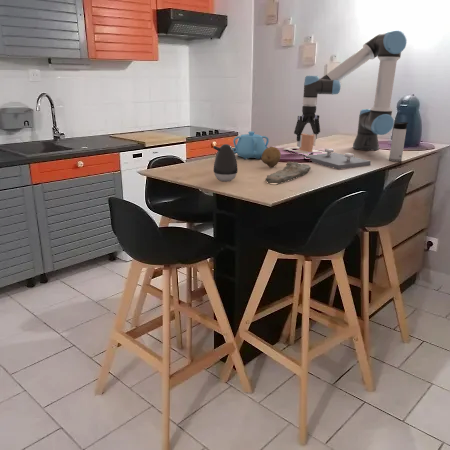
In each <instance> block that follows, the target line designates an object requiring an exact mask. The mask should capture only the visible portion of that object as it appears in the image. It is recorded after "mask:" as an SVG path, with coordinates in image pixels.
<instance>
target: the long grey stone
mask: <svg viewBox="0 0 450 450" xmlns="http://www.w3.org/2000/svg"><path fill="white" fill-rule="evenodd" d="M310 170H311V165H309V164H306V163H299V162H297V161H293V162H292V161H287V162H286V165H285V166H284V167H283V169H280V170H278V171H275V172H273V173H270V174H268V175H266V178H265V182H266V183H267V182H268V183H279V184H282V183H281V182H283V183H285V181H286V182H289V181H288V180H290V181H292V180H294V179H293V178H295V179H297V178H298V177H302V176H304V175H305V173H306V174H308V172H310ZM301 175H302V176H301ZM296 177H297V178H296ZM291 179H292V180H291ZM268 183H267V184H268Z"/></svg>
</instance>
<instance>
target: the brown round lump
mask: <svg viewBox="0 0 450 450" xmlns="http://www.w3.org/2000/svg"><path fill="white" fill-rule="evenodd" d="M267 147H268V146H267ZM281 155H282V154H281V151H280V150H279V149H278V148H277V147H275V146H269V147H268V148H267V149H265V150H264V152H263V154H262V157H261V161H262V163H264V164H265V165H267V166H268V167H269V168H274V167H276V166H277V165H278V164H279V162H280V160H281Z"/></svg>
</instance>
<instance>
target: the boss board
mask: <svg viewBox="0 0 450 450" xmlns="http://www.w3.org/2000/svg"><path fill="white" fill-rule="evenodd" d="M324 152H327V154H317V155H308V156H303V158H304V157H306V158H310V159H311V161H312V162H311V163H315V164H317V163H318V165H321V164H322V166H325V165H326V166H325V167H328V166H330V168H332V167H334V168H333V169H335V168H337V169H336V170H342V169H341V168H345V169H349V168H350V167H352V168H356V167H357V168H358V167H364V166H371V161H372V160H368V159H364V158H359V157H356V156H355V157H354V153H349V152H346V153H344V154H343V153H338V152H334V149H333V148H324Z"/></svg>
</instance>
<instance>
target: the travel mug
mask: <svg viewBox="0 0 450 450" xmlns="http://www.w3.org/2000/svg"><path fill="white" fill-rule="evenodd" d="M408 124H409V122H408V121H406V122H404V121H403V122H394V125H393V131H392V136H391V143H390V151H389V157H388V160H389V161H391V162H402V161H403V160H402V159H403V154H404V147H405V141H406V136H407V135H406V133H407V126H408Z"/></svg>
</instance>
